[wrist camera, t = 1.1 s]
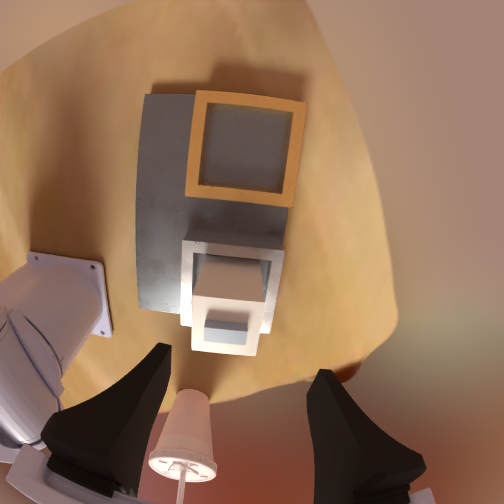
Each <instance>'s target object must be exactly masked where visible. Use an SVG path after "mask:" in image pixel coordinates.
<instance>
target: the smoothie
mask: <svg viewBox="0 0 504 504" xmlns="http://www.w3.org/2000/svg"><path fill="white" fill-rule="evenodd" d="M149 465H150V467H151V468H152V469H153V470H155V471H156V472H158V473H159V474H161V475H164V476H166V477H169V478H172V479H176V480H179V486H178V494H177V502H176V504H183V496H184V487H185V481H187V482H204V481H208V480H211V479H213V478H214V477H215V476H216V469H217V465H216V464H215V462H214V461H213V451H212V440H211V427H210V411H209V399H208V397H207V396H206V395H205V394H204V393H203V392H201V391H198V390H195V389H183V390H181V391H179V392H178V393H177V395H176V398H175V400H174V403H173V405H172V408H171V410H170V413H169V415H168V418H167V420H166V424H165V426H164V428H163V431H162V433H161V436H160V438H159V440H158V443H157V446H156V449H155V450H153V451H152V452H151V453H150V458H149Z"/></svg>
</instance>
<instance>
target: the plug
mask: <svg viewBox="0 0 504 504" xmlns="http://www.w3.org/2000/svg"><path fill="white" fill-rule="evenodd" d="M264 306H265V298H264V291H263V284H262V277H261V270H260V262H259V260H249V259H239V258H230V257H220V256H211V255H205V258H204V261H203V264H202V267H201V270H200V273H199V276H198V279H197V282H196V285H195V288H194V291H193V294H192V350H196V351H205V352H214V353H223V354H234V355H247V356H256V351H257V346H258V340H259V335H260V329H261V323H262V317H263V312H264Z"/></svg>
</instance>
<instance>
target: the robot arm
mask: <svg viewBox="0 0 504 504" xmlns="http://www.w3.org/2000/svg"><path fill="white" fill-rule="evenodd" d="M37 257H38V258H37ZM27 260H28V263H26V264H25V265H23V266H22V267H20V268H19V269H18V270H16V271H15V272H14V273H12V274H11V275H9V276H8V277H7V278H5V279H4V280H3V281H1V282H0V462H6V463H13V462H14V463H13V465H12V467H11V469H10V471H9V473H8V475H7V477H6V481H7V482H8V483H10V484H11V485H12V486H14V487H15V488H16V489H18V490H19V491H20V492H22V493H23V494H24V495H26V496H27V497H29V498H30V499H32V500H33V501H35V502H36V503H38V504H156V503H152V502H149V501H145V500H142V499H138V498H137V494H138V487H139V481H140V476H141V471H142V466H143V461H144V456H145V452H146V448H147V444H148V440H149V436H150V432H151V429H152V426H153V423H154V421H155V418H156V416H157V413H158V411H159V408H160V406H161V403H162V401H163V398H164V396H165V393H166V390H167V386H168V383H169V379H170V375H171V351H172V345H168V344H164V343H160V342H159V343H157V344H156V346H155V347H154V348H153V349H152V350H151V351H150V352H149V354H148V355H147V356H146V357H145V358H144V359H143V360H142V361H141V362H140V363H139V364H138V365H137V366H135V367H134V368H133V369H132V370H131V371H130V372H129V373H128V374H126V375H125V376H124V377H123V378H122V379H120V380H119V381H118V382H116V383H115V384H114V385H112V386H111V387H109V388H108V389H106V390H105V391H103V392H101V393H100V394H98V395H96V396H95V397H93V398H91V399H89V400H87V401H84V402H82V403H80V404H78V405H76V406H73V407H71V408H68V409H65V410H64V407H63V405H62V403H61V401H60V400H59V398H60V396H61V394H62V392H63V391H64V387H63V385H62V383H61V379H62V377H63V376H64V374H65V372H66V371H67V369H68V368H69V366H70V364H71V363H72V361H73V360H74V358H75V357H76V355H77V354H78V352H79V351H80V349H81V348H82V346H83V345H84V343H85V342H86V340H87V339H88V337H89V336H90V334H95V335H100V336H104V337H111V336H112V334H113V331H112V326H111V320H110V314H109V307H108V300H107V293H106V285H105V276H104V267H103V265H102V263H100V262H98V261H91V260H84V259H77V258H70V257H63V256H57V255H51V254H44V253H38V252H32V251H30V252H28V253H27ZM92 265H93V266H94V267H95V269H94V268H93V267H92ZM103 331H104V332H105V333H104V332H103ZM307 414H308V420H309V426H310V431H311V437H312V442H313V449H314V462H315V488H314V503H313V504H435V500H434V497H433V494H432V492H431V488H427V489H424V490H421V491H418V492H415V493H412V494H410V495H408V491H409V490H410V485H409V484H410V483H411V482H413V481H414V480H415V479H416V478H418V477H419V476H420V475H422V474H423V473H424V472H425V470H426V465H425V462H424V460H423V457H422V455H421V454H419V453H417V452H415V451H413V450H411V449H409V448H407V447H406V446H404V445H402V444H401V443H399V442H398V441H396V440H395V439H393V438H392V437H390V436H389V435H388V434H387V433H385V432H384V431H382V430H381V429H380V428H379V427H378V426H377V425H376V424H375V423H374V422H373V421H371V419H370V418H369V417H368V416H367V415H366V414H365V413H364V412H363V411H362V410H361V409H360V407H359V406H358V405H357V404H356V403H355V402H354V400H353V399H352V398H351V396H350V395H349V394H348V393H347V391H346V390H345V388H344V387H343V386H342V384H341V383H340V381H339V380H338V379H337V377H336V376H335V375H334V373H333V372H332V370H328V369H319V371H318V373H317V375H316V377H315V379H314V381H313V383H312V385H311V387H310V389H309V391H308V393H307ZM46 446H47V447H48V449H49V450H50V451H51V452H52V455H51V457H50V458H49V457H48V456H46V455H45V454H44V453H42V452H40V451H39V450H40V449H43V448H45V447H46Z"/></svg>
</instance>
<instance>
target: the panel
mask: <svg viewBox="0 0 504 504" xmlns="http://www.w3.org/2000/svg"><path fill="white" fill-rule="evenodd" d="M306 110H307V103H304V102H299V101H294V100H288V99H282V98H275V97H269V96H261V95H253V94H244V93H234V92H222V91H206V90H196V94H145V98H144V105H143V113H142V121H141V130H140V140H139V151H138V165H137V183H136V266H137V285H138V298H139V308H142V309H149V310H155V311H162V312H169V313H177V314H181V325H186V326H192V294H193V291H194V288H195V285H196V282H197V279H198V276H199V273H200V270H201V267H202V264H203V261H204V258H205V255H211V256H220V257H230V258H239V259H249V260H259V262H260V270H261V277H262V284H263V291H264V298H265V306H264V312H263V317H262V323H261V329H260V333H268V334H270V330H271V325H272V320H273V314H274V309H275V304H276V299H277V294H278V288H279V283H280V277H281V272H282V266H283V261H284V255H285V249H284V247H283V244H282V243H283V237H284V231H285V224H286V218H287V212H288V207H289V208H292V207H293V201H294V195H295V188H296V182H297V175H298V168H299V161H300V154H301V147H302V140H303V133H304V125H305V118H306Z"/></svg>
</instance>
